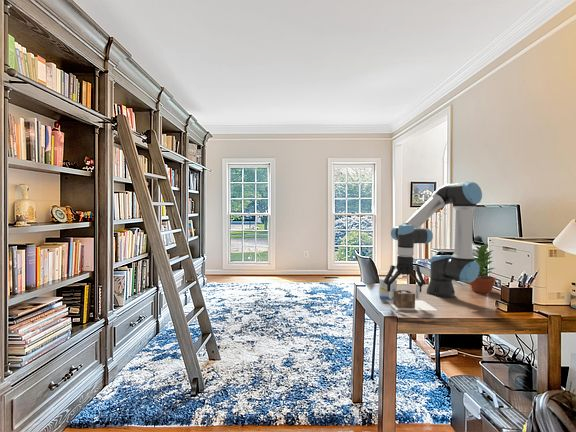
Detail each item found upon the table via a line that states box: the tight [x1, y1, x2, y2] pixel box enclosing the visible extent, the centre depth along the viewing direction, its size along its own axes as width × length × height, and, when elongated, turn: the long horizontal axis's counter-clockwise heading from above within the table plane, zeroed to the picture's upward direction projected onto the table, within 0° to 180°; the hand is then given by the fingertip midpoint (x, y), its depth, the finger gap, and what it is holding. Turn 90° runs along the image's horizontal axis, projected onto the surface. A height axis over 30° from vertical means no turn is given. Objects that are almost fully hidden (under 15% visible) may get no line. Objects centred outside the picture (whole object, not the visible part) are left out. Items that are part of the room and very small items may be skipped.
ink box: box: [378, 276, 398, 300], centre depth 192 cm, size 9×8×12 cm
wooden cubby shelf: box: [393, 289, 416, 308], centre depth 175 cm, size 8×8×8 cm
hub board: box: [385, 292, 438, 313], centre depth 177 cm, size 20×18×8 cm
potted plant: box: [470, 243, 497, 294], centre depth 217 cm, size 15×15×30 cm
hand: (403, 298), depth 175 cm, fingers open, 13 cm apart
